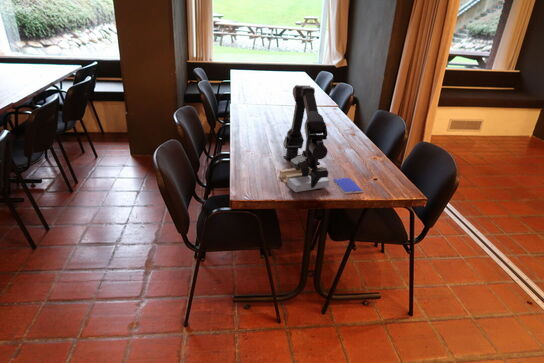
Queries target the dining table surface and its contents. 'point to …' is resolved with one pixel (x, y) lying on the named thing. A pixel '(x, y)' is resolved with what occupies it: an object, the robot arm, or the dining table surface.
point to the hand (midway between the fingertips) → (308, 184)
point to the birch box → (292, 174)
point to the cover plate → (306, 183)
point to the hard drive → (347, 185)
